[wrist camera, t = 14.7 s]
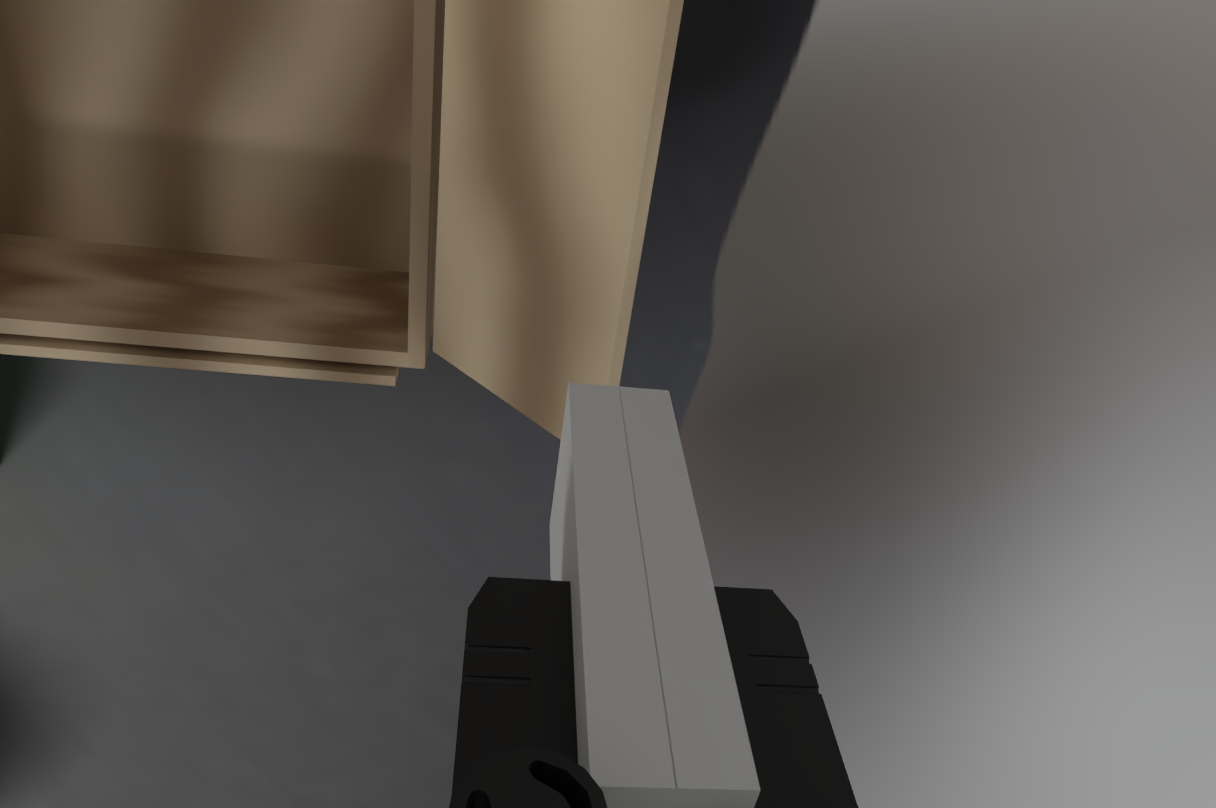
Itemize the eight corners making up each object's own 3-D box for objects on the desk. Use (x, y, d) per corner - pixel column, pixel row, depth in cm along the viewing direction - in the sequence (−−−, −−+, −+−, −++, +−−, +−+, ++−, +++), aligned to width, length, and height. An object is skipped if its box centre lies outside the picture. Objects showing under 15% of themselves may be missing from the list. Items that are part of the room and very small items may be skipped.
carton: (-12, 255, 36) (-123, 343, 30) (-173, -375, 26) (-392, -434, 20) (442, 298, 38) (423, 388, 32) (465, -266, 28) (443, -288, 22)
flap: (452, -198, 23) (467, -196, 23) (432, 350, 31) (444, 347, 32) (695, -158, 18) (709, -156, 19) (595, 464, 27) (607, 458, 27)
